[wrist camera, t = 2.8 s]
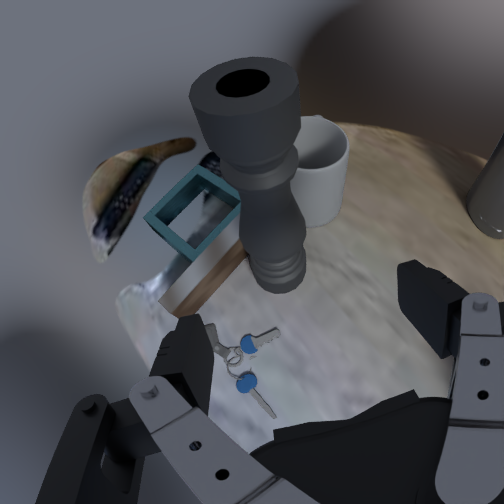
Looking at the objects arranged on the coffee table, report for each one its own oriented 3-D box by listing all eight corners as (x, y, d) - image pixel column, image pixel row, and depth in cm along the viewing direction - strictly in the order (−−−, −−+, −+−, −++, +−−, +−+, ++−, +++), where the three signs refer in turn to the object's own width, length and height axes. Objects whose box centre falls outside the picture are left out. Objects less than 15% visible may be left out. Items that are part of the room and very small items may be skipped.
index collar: (204, 179, 44) (197, 164, 41) (258, 214, 40) (255, 199, 37) (153, 230, 41) (142, 217, 38) (203, 274, 37) (194, 263, 34)
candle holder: (273, 304, 35) (219, 139, 12) (243, 264, 37) (166, 87, 15) (316, 273, 35) (330, 84, 13) (285, 235, 38) (258, 45, 16)
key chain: (180, 342, 35) (177, 341, 34) (224, 290, 37) (223, 287, 36) (274, 420, 29) (273, 420, 29) (321, 361, 31) (321, 360, 31)
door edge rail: (267, 213, 40) (262, 189, 35) (279, 221, 39) (276, 197, 34) (176, 313, 36) (157, 301, 31) (187, 324, 35) (169, 313, 30)
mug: (336, 234, 37) (346, 178, 27) (270, 222, 39) (259, 165, 29) (347, 162, 42) (354, 103, 32) (289, 153, 44) (283, 94, 34)
